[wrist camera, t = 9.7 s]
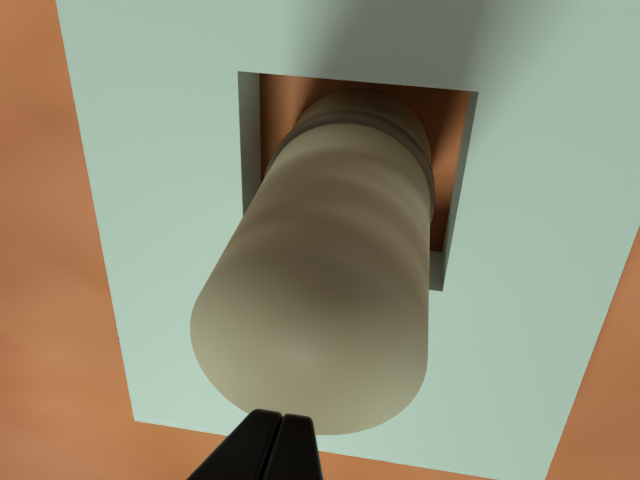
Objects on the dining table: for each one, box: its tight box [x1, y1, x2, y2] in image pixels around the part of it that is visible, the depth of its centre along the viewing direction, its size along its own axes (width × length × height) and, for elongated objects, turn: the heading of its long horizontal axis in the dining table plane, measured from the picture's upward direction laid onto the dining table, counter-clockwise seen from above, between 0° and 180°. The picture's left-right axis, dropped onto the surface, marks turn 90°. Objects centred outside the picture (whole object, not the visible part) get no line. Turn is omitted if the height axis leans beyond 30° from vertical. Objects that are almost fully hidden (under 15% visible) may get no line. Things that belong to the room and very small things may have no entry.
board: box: [56, 0, 640, 480], centre depth 17 cm, size 14×16×2 cm
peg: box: [190, 88, 435, 435], centre depth 13 cm, size 4×4×8 cm
